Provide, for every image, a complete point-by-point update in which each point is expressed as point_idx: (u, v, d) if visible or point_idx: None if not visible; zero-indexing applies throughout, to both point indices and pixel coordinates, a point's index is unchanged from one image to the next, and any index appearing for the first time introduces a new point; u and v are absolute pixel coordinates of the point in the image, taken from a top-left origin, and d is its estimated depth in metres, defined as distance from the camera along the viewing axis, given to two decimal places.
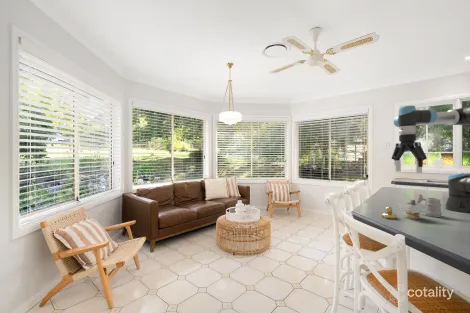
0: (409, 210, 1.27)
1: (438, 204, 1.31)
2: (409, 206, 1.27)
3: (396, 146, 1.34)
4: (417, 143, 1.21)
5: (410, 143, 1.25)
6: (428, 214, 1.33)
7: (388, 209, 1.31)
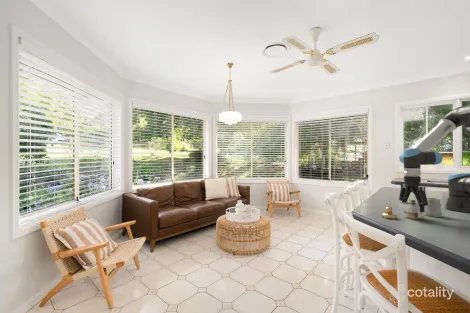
0: (409, 210, 1.27)
1: (438, 204, 1.31)
2: (409, 206, 1.27)
3: (401, 187, 1.36)
4: (422, 188, 1.23)
5: (415, 185, 1.27)
6: (428, 214, 1.33)
7: (388, 209, 1.31)
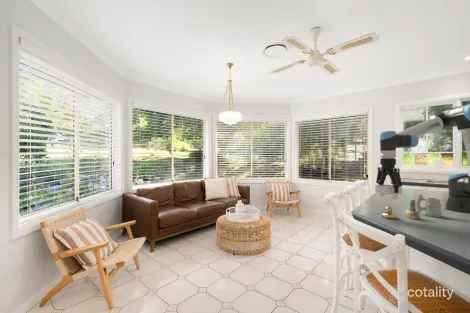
0: (384, 191, 1.29)
1: (438, 204, 1.31)
2: (384, 187, 1.29)
3: (378, 170, 1.38)
4: (396, 170, 1.25)
5: (390, 167, 1.29)
6: (428, 214, 1.33)
7: (388, 209, 1.31)
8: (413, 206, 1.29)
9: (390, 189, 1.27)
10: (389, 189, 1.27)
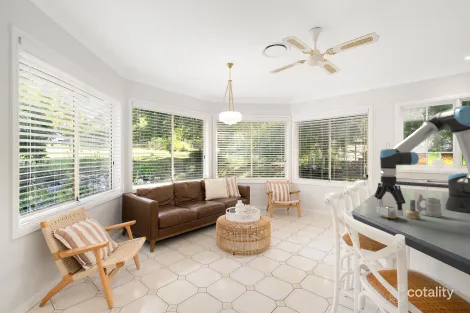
0: (385, 213, 1.29)
1: (438, 204, 1.31)
2: (385, 209, 1.29)
3: (378, 185, 1.38)
4: (397, 187, 1.25)
5: (390, 185, 1.29)
6: (428, 214, 1.33)
7: None
8: (413, 206, 1.29)
9: (391, 211, 1.27)
10: (390, 211, 1.27)
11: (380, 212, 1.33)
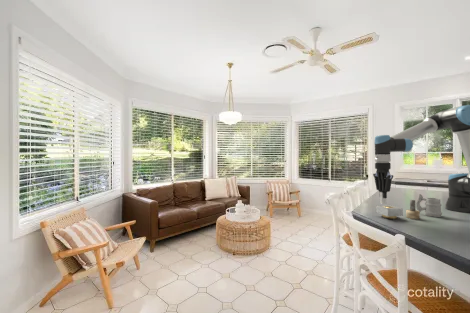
0: (385, 213, 1.29)
1: (438, 204, 1.31)
2: (385, 209, 1.29)
3: (374, 176, 1.36)
4: (390, 177, 1.26)
5: (385, 172, 1.28)
6: (428, 214, 1.33)
7: None
8: (413, 206, 1.29)
9: (391, 211, 1.27)
10: (390, 211, 1.27)
11: (380, 212, 1.33)
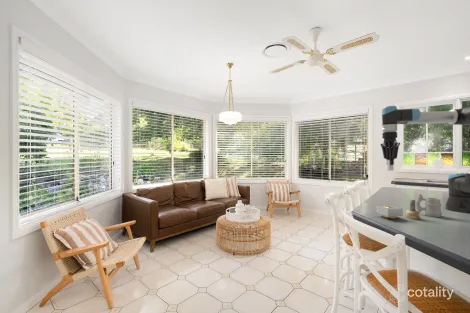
0: (385, 213, 1.29)
1: (438, 204, 1.31)
2: (385, 209, 1.29)
3: (382, 146, 1.46)
4: (396, 144, 1.35)
5: (392, 140, 1.37)
6: (428, 214, 1.33)
7: None
8: (413, 206, 1.29)
9: (391, 211, 1.27)
10: (390, 211, 1.27)
11: (380, 212, 1.33)
